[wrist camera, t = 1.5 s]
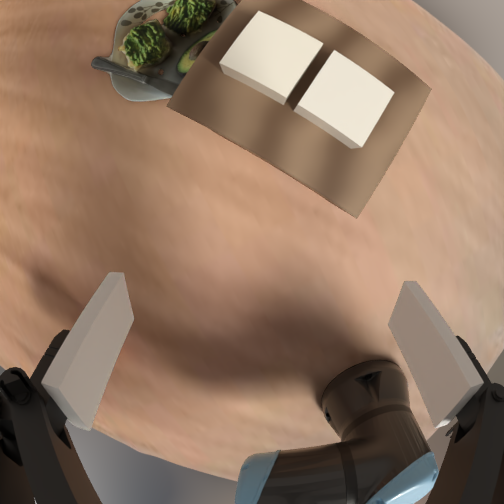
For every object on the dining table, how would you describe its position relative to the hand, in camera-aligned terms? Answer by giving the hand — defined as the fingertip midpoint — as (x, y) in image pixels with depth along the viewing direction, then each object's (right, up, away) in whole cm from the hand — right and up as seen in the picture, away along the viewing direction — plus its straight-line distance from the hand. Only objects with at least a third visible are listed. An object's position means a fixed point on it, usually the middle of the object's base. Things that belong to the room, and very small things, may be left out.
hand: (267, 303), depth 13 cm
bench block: (+5, +20, +18) cm, 27 cm away
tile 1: (+7, +15, +9) cm, 19 cm away
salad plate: (-10, +28, +16) cm, 34 cm away
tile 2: (+1, +19, +9) cm, 21 cm away
